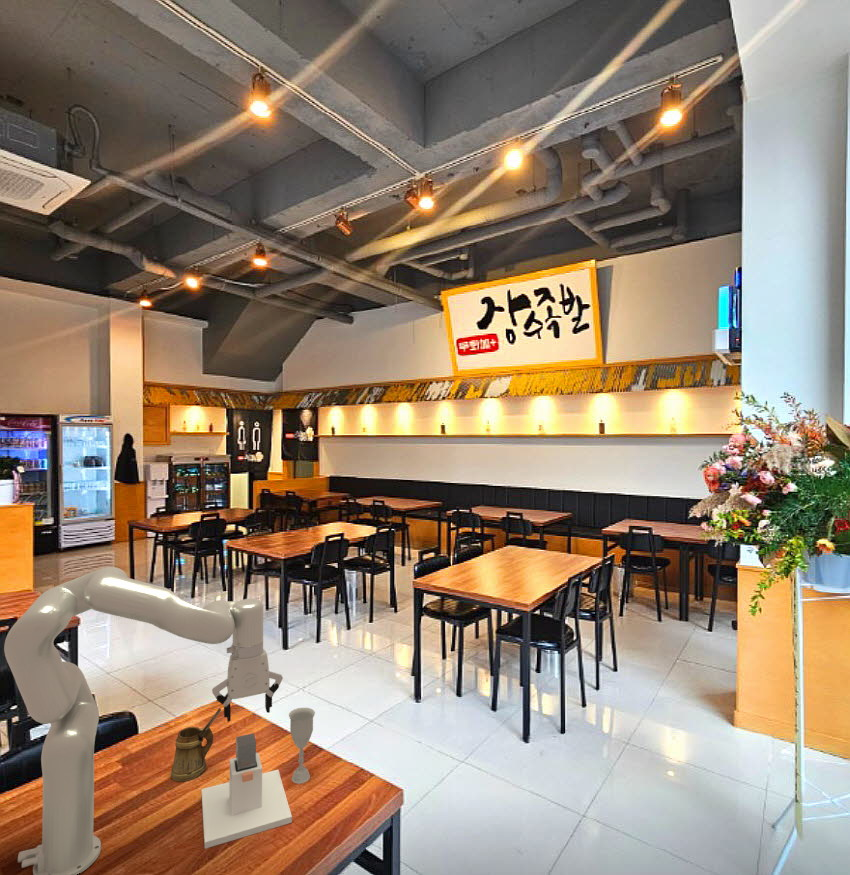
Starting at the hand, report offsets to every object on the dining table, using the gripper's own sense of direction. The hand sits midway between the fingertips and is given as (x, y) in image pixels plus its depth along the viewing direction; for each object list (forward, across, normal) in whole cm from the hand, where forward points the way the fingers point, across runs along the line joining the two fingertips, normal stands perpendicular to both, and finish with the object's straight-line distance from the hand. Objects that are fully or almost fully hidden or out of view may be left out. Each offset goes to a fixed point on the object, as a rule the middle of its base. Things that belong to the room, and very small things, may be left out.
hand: (248, 714), depth 133 cm
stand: (+24, -1, 0) cm, 24 cm away
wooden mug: (+24, -12, +21) cm, 34 cm away
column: (+22, -1, 0) cm, 22 cm away
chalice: (+24, +15, +6) cm, 29 cm away
